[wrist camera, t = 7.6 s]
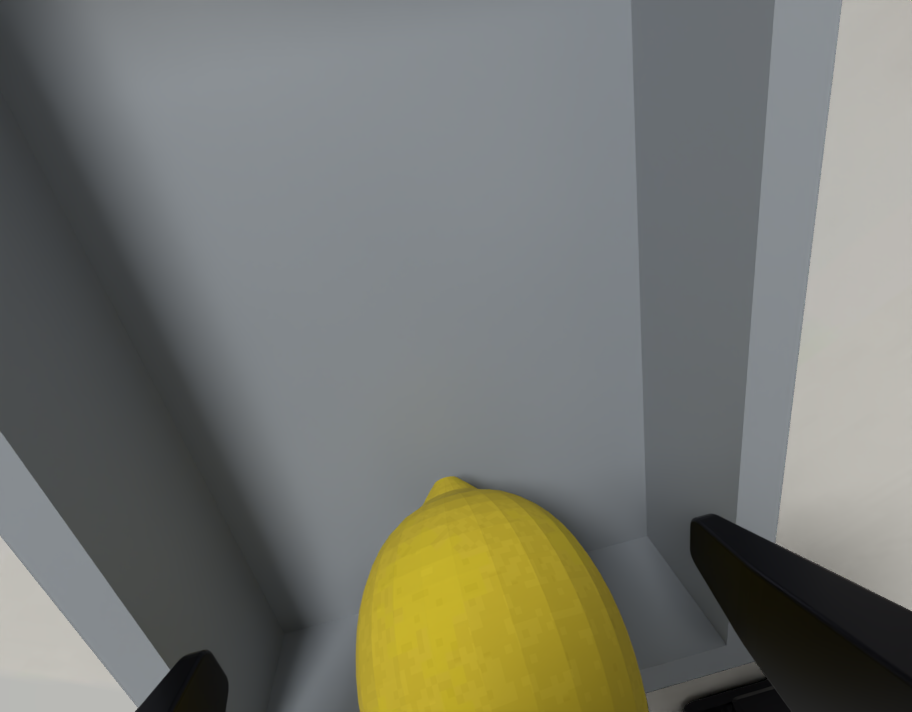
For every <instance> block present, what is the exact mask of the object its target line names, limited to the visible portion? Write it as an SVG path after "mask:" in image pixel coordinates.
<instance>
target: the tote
mask: <svg viewBox="0 0 912 712" xmlns="http://www.w3.org/2000/svg"><path fill="white" fill-rule="evenodd" d="M841 6H842V0H0V536H1V537H2V538H3V540H4V541H5V542H6V543H7V545H8V546H9V547H10V548H11V550H12V551H13V552H14V553H15V555H16V556H17V557H18V558H19V560H20V561H21V562H22V563H23V565H24V566H25V567H26V568H27V570H28V571H29V572H30V573H31V575H32V576H33V577H34V578H35V580H36V581H37V582H38V583H39V585H40V586H41V587H42V588H43V590H44V591H45V592H46V593H47V595H48V596H49V597H50V598H51V600H52V601H53V602H54V603H55V605H56V606H57V607H58V608H59V610H60V611H61V612H62V613H63V615H64V616H65V617H66V618H67V620H68V621H69V622H70V623H71V625H72V626H73V627H74V628H75V630H76V631H77V632H78V633H79V635H80V636H81V637H82V639H83V640H84V641H85V642H86V644H87V645H88V646H89V647H90V649H91V650H92V651H93V652H94V654H95V655H96V656H97V657H98V659H99V660H100V661H101V662H102V664H103V665H104V666H105V667H106V669H107V670H108V671H109V672H110V674H111V675H112V676H113V677H114V679H115V680H116V681H117V682H118V684H119V685H120V686H121V687H122V689H123V690H124V691H125V692H126V694H127V695H128V696H129V697H130V699H131V700H132V701H133V702H134V704H135V705H136V706H137V707H138V708H139V706H140V705H141V704H142V703H143V702H144V700H145V699H146V698H147V697H148V696H149V695H150V693H151V692H152V691H153V690H154V689H155V687H156V686H157V685H158V684H159V683H160V682H161V680H162V679H163V678H164V677H165V676H166V674H167V673H168V672H169V671H170V670H171V669H172V667H173V666H174V665H175V664H176V663H177V661H178V660H179V659H180V658H182V657H183V656H184V655H187V654H189V653H193V652H197V651H201V650H205V649H207V650H209V651H211V652H212V653H213V655H214V656H215V658H216V659H217V661H218V663H219V664H220V666H221V667H222V669H223V670H224V672H225V673H226V675H227V678H228V682H229V694H228V700H227V707H226V712H360V709H359V703H358V694H357V682H356V633H357V624H358V616H359V609H360V605H361V600H362V596H363V591H364V588H365V585H366V582H367V580H368V577H369V574H370V571H371V568H372V565H373V563H374V561H375V559H376V557H377V555H378V553H379V551H380V549H381V547H382V546H383V544H384V543H385V541H386V540H387V538H388V537H389V535H390V534H391V533H392V532H393V531H394V530H395V529H396V528H397V527H398V526H399V524H400V523H401V522H402V521H403V520H404V519H405V518H406V517H407V516H409V515H410V514H412V513H413V512H415V511H416V510H417V509H419V508H420V507H421V506H422V505H423V503H424V502H425V500H426V498H427V496H428V494H429V492H430V490H431V489H432V487H433V485H434V484H435V482H437V481H438V480H440V479H442V478H445V477H449V476H455V477H458V478H459V479H461V480H463V481H465V482H467V483H469V484H470V485H472V486H474V487H476V488H477V489H492V490H501V491H505V492H508V493H512V494H515V495H518V496H521V497H523V498H525V499H527V500H529V501H532V502H534V503H536V504H537V505H539V506H540V507H542V508H543V509H545V510H547V511H548V512H549V513H551V514H552V515H553V516H554V517H555V518H557V519H558V520H559V521H560V522H561V523H562V524H563V525H564V526H565V527H566V528H567V529H568V530H569V531H570V532H571V533H572V534H573V535H574V537H575V538H576V539H577V540H578V542H579V543H580V544H581V546H582V547H583V548H584V550H585V551H586V552H587V554H588V555H589V557H590V558H591V560H592V561H593V563H594V564H595V566H596V567H597V569H598V571H599V572H600V574H601V576H602V577H603V579H604V581H605V583H606V585H607V586H608V588H609V590H610V592H611V594H612V596H613V598H614V600H615V603H616V605H617V607H618V609H619V611H620V614H621V616H622V619H623V621H624V624H625V626H626V629H627V631H628V634H629V637H630V640H631V643H632V646H633V649H634V652H635V656H636V659H637V663H638V667H639V670H640V674H641V677H642V682H643V686H644V690H645V693H648V692H652V691H655V690H659V689H662V688H665V687H669V686H672V685H676V684H679V683H683V682H686V681H689V680H693V679H696V678H700V677H703V676H707V675H710V674H713V673H717V672H720V671H724V670H727V669H731V668H734V667H737V666H741V665H744V664H748V663H751V662H755V661H754V659H753V658H752V656H751V655H750V654H749V652H748V651H747V649H746V648H745V646H744V645H743V643H742V642H741V640H740V639H739V637H738V635H737V634H736V632H735V630H734V629H733V627H732V625H731V624H730V622H729V620H728V619H727V617H726V615H725V614H724V612H723V610H722V609H721V607H720V605H719V604H718V602H717V600H716V599H715V597H714V595H713V594H712V592H711V590H710V589H709V587H708V585H707V584H706V582H705V580H704V579H703V577H702V575H701V574H700V572H699V570H698V569H697V567H696V565H695V564H694V562H693V560H692V557H691V554H690V522H691V520H692V518H694V517H698V516H701V515H705V514H710V513H712V514H716V515H719V516H721V517H723V518H725V519H727V520H729V521H731V522H733V523H735V524H737V525H739V526H741V527H743V528H745V529H747V530H749V531H751V532H753V533H755V534H757V535H759V536H761V537H763V538H765V539H767V540H769V541H771V542H773V543H775V541H776V533H777V525H778V517H779V509H780V501H781V493H782V484H783V476H784V468H785V460H786V452H787V444H788V436H789V428H790V420H791V411H792V403H793V395H794V387H795V379H796V371H797V363H798V355H799V347H800V338H801V330H802V322H803V314H804V306H805V298H806V290H807V282H808V274H809V266H810V257H811V249H812V241H813V233H814V225H815V217H816V209H817V201H818V193H819V184H820V176H821V168H822V160H823V152H824V144H825V136H826V128H827V120H828V111H829V103H830V95H831V87H832V79H833V71H834V63H835V55H836V47H837V38H838V30H839V22H840V14H841Z"/></svg>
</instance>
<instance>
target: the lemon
mask: <svg viewBox="0 0 912 712" xmlns="http://www.w3.org/2000/svg"><path fill="white" fill-rule="evenodd" d="M356 682H357V694H358V703H359V709H360V712H649V710H648V704H647V699H646V695H645V690H644V686H643V682H642V677H641V674H640V670H639V667H638V663H637V659H636V656H635V652H634V649H633V646H632V643H631V640H630V637H629V634H628V631H627V629H626V626H625V624H624V621H623V619H622V616H621V614H620V611H619V609H618V607H617V605H616V603H615V600H614V598H613V596H612V594H611V592H610V590H609V588H608V586H607V585H606V583H605V581H604V579H603V577H602V576H601V574H600V572H599V571H598V569H597V567H596V566H595V564H594V563H593V561H592V560H591V558H590V557H589V555H588V554H587V552H586V551H585V550H584V548H583V547H582V546H581V544H580V543H579V542H578V540H577V539H576V538H575V537H574V535H573V534H572V533H571V532H570V531H569V530H568V529H567V528H566V527H565V526H564V525H563V524H562V523H561V522H560V521H559V520H558V519H557V518H555V517H554V516H553V515H552V514H551V513H549V512H548V511H547V510H545V509H543V508H542V507H540V506H539V505H537V504H536V503H534V502H532V501H529V500H527V499H525V498H523V497H521V496H518V495H515V494H512V493H508V492H505V491H501V490H492V489H477V488H476V487H474V486H472V485H470V484H469V483H467V482H465V481H463V480H461V479H459V478H458V477H455V476H449V477H445V478H442V479H440V480H438V481H437V482H435V484H434V485H433V487H432V489H431V490H430V492H429V494H428V496H427V498H426V500H425V502H424V503H423V505H422V506H421V507H420V508H419V509H417V510H416V511H415V512H413V513H412V514H410V515H409V516H407V517H406V518H405V519H404V520H403V521H402V522H401V523H400V524H399V526H398V527H397V528H396V529H395V530H394V531H393V532H392V533H391V534H390V535H389V537H388V538H387V540H386V541H385V543H384V544H383V546H382V547H381V549H380V551H379V553H378V555H377V557H376V559H375V561H374V563H373V565H372V568H371V571H370V574H369V577H368V580H367V582H366V585H365V588H364V591H363V596H362V600H361V605H360V609H359V616H358V624H357V633H356Z"/></svg>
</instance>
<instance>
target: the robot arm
mask: <svg viewBox="0 0 912 712" xmlns="http://www.w3.org/2000/svg"><path fill="white" fill-rule="evenodd" d="M690 554H691V557H692V560H693V562H694V564H695V565H696V567H697V569H698V570H699V572H700V574H701V575H702V577H703V579H704V580H705V582H706V584H707V585H708V587H709V589H710V590H711V592H712V594H713V595H714V597H715V599H716V600H717V602H718V604H719V605H720V607H721V609H722V610H723V612H724V614H725V615H726V617H727V619H728V620H729V622H730V624H731V625H732V627H733V629H734V630H735V632H736V634H737V635H738V637H739V639H740V640H741V642H742V643H743V645H744V646H745V648H746V649H747V651H748V652H749V654H750V655H751V656H752V658H753V659H754V661H755V662H756V664H757V665H758V666H759V668H760V669H761V670H762V672H763V673H764V675H765V676H766V677H767V680H764V681H761V682H757V683H754V684H750V685H747V686H744V687H740V688H737V689H734V690H730V691H727V692H723V693H720V694H717V695H713V696H710V697H706V698H703V699H700V700H696V701H693V702H691V703H689V704H687V705H686V706H685V707H684V709H683V712H912V611H910V610H908V609H906V608H904V607H902V606H900V605H898V604H896V603H894V602H892V601H890V600H888V599H886V598H884V597H882V596H880V595H878V594H876V593H874V592H872V591H870V590H868V589H866V588H864V587H862V586H860V585H858V584H856V583H854V582H852V581H850V580H848V579H846V578H844V577H842V576H840V575H838V574H836V573H834V572H832V571H830V570H828V569H826V568H824V567H822V566H820V565H818V564H816V563H814V562H812V561H810V560H808V559H806V558H803V557H801V556H799V555H797V554H795V553H793V552H791V551H789V550H787V549H785V548H783V547H781V546H779V545H777V544H775V543H773V542H771V541H769V540H767V539H765V538H763V537H761V536H759V535H757V534H755V533H753V532H751V531H749V530H747V529H745V528H743V527H741V526H739V525H737V524H735V523H733V522H731V521H729V520H727V519H725V518H723V517H721V516H719V515H716V514H712V513H710V514H705V515H701V516H698V517H694V518H692V520H691V522H690ZM228 694H229V682H228V678H227V675H226V673H225V672H224V670H223V669H222V667H221V666H220V664H219V663H218V661H217V659H216V658H215V656H214V655H213V653H212V652H211V651H209V650H207V649H205V650H201V651H197V652H193V653H189V654H187V655H184V656H183V657H182V658H180V659H179V660H178V661H177V663H176V664H175V665H174V666H173V667H172V669H171V670H170V671H169V672H168V673H167V674H166V676H165V677H164V678H163V679H162V680H161V682H160V683H159V684H158V685H157V686H156V687H155V689H154V690H153V691H152V692H151V693H150V695H149V696H148V697H147V698H146V699H145V700H144V702H143V703H142V704H141V705H140V706H139V708H138V709H137V710H136V711H135V712H226V707H227V700H228Z"/></svg>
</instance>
